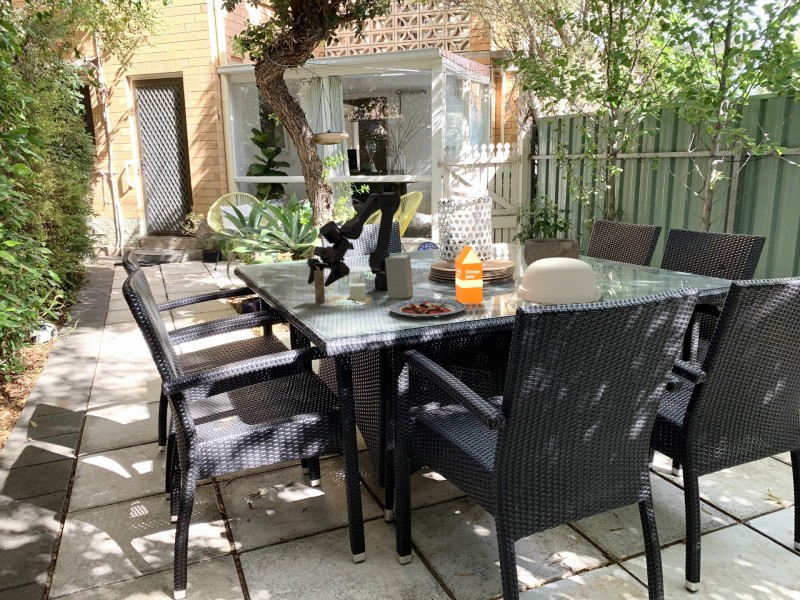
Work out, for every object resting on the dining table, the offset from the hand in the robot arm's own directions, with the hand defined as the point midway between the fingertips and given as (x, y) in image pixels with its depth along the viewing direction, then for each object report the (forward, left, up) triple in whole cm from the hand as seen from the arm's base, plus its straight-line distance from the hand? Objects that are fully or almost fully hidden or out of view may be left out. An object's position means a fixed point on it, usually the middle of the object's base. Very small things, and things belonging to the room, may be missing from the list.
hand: (316, 284), depth 228 cm
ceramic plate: (-38, +22, -7) cm, 45 cm away
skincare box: (-31, -6, -7) cm, 32 cm away
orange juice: (-55, +8, -7) cm, 56 cm away
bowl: (-103, -45, -7) cm, 112 cm away
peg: (-1, -1, -7) cm, 7 cm away
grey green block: (-15, -7, -7) cm, 18 cm away
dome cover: (-89, +5, -7) cm, 90 cm away
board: (-12, -2, -7) cm, 14 cm away
